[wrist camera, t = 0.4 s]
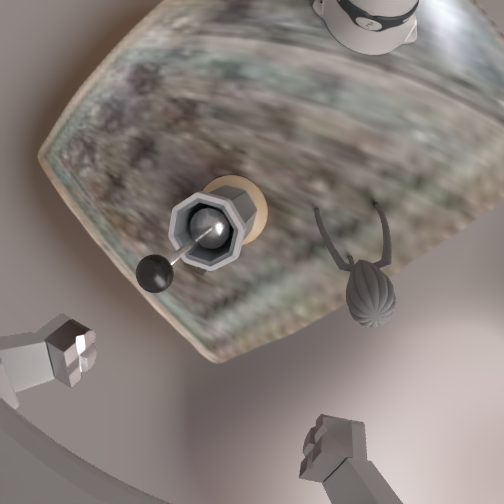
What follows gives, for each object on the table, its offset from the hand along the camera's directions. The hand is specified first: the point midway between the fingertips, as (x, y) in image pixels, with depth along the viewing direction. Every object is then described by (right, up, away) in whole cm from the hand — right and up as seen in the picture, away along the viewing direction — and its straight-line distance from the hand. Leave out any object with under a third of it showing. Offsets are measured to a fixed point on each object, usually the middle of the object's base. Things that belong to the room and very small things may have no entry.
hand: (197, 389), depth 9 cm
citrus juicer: (+17, +10, +43) cm, 47 cm away
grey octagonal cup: (-2, +12, +46) cm, 48 cm away
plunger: (-4, +8, +35) cm, 37 cm away
